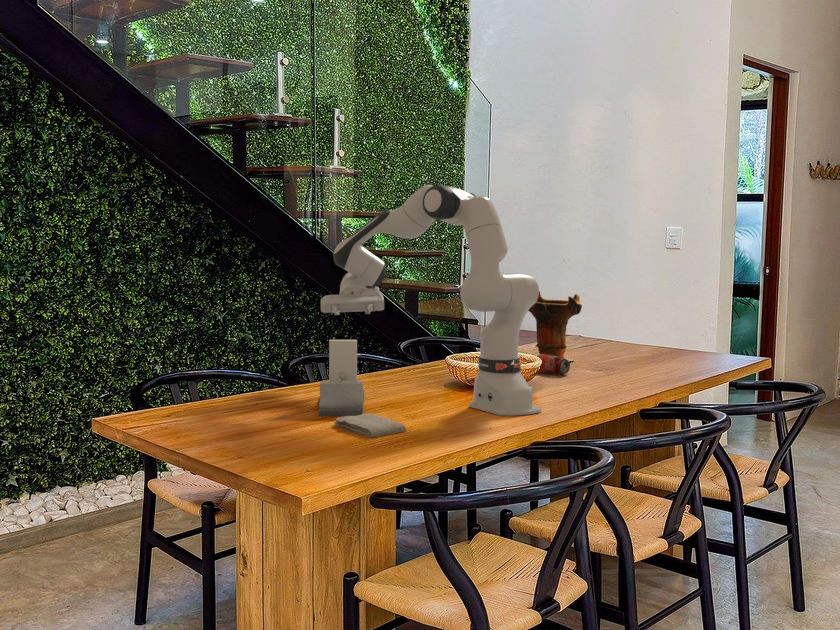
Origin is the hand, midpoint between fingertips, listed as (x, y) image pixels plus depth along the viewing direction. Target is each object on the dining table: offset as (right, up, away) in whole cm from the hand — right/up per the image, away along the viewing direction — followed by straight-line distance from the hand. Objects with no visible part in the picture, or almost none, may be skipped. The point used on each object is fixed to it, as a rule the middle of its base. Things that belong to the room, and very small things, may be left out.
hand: (352, 312), depth 277 cm
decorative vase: (+73, -19, +74) cm, 105 cm away
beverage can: (+69, -22, +43) cm, 84 cm away
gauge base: (-2, -27, -15) cm, 31 cm away
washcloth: (+8, -31, -45) cm, 55 cm away
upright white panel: (-3, -25, -15) cm, 29 cm away
